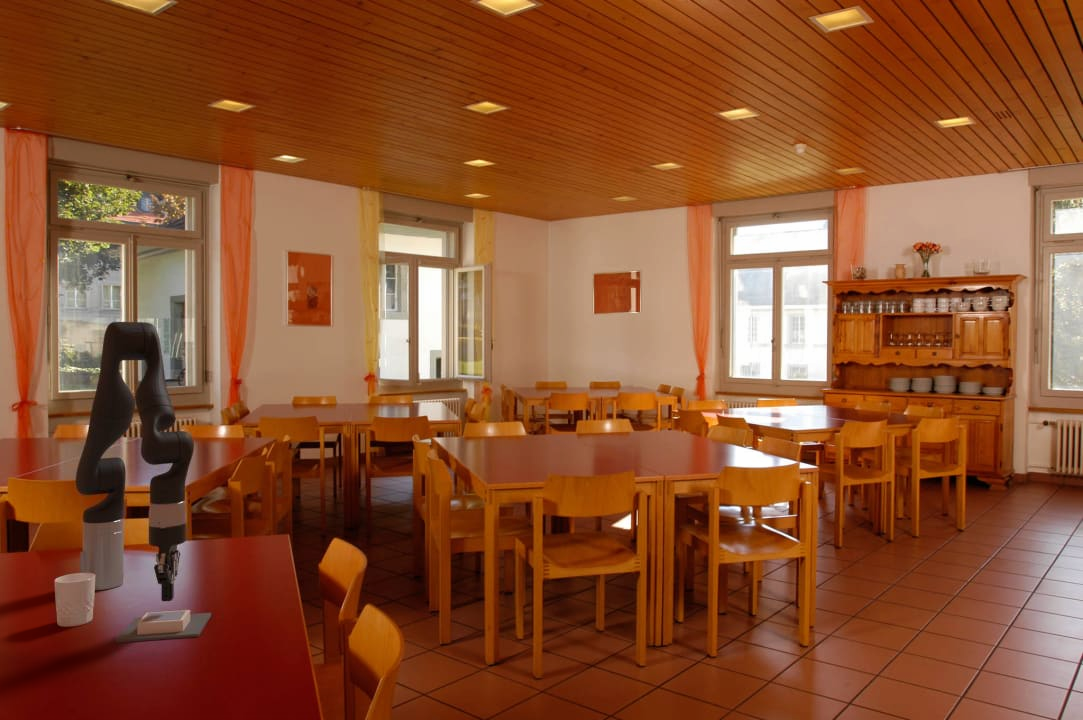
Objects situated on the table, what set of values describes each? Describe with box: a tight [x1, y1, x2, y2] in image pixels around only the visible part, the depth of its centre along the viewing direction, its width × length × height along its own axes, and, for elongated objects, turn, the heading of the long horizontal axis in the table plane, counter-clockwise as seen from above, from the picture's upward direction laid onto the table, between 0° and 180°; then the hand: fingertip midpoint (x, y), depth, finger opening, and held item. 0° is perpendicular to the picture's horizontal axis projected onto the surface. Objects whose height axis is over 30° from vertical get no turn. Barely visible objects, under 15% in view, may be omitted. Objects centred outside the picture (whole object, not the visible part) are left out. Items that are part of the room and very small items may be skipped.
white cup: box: [54, 572, 96, 628], centre depth 173 cm, size 8×8×10 cm
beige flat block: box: [137, 609, 191, 635], centre depth 168 cm, size 9×2×7 cm
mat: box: [115, 612, 212, 644], centre depth 169 cm, size 16×14×1 cm
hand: (167, 600), depth 170 cm, fingers closed
